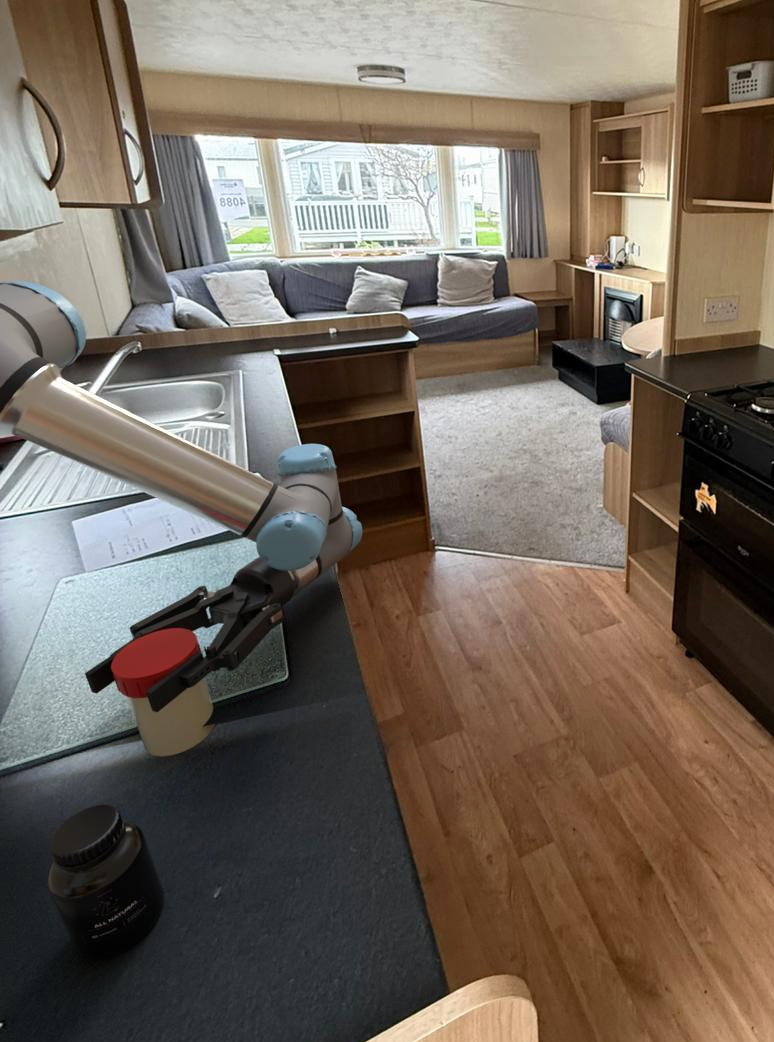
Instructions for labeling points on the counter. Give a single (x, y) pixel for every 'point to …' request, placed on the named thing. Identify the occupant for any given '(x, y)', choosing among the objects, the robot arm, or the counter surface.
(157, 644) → the lid
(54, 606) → the counter surface
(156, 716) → the jar
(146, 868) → the supplement bottle
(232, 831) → the counter surface
